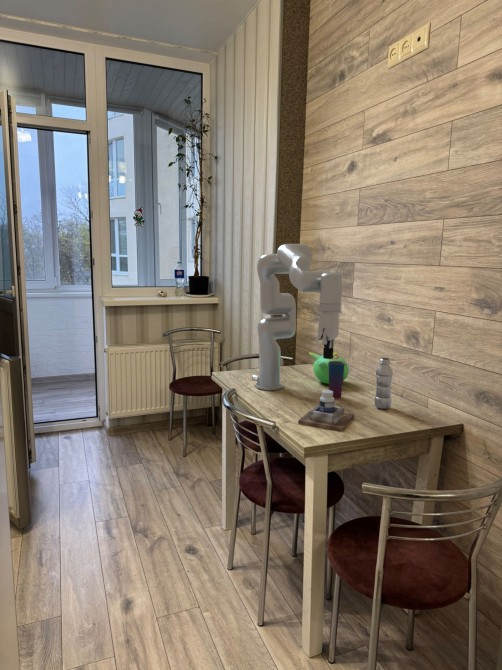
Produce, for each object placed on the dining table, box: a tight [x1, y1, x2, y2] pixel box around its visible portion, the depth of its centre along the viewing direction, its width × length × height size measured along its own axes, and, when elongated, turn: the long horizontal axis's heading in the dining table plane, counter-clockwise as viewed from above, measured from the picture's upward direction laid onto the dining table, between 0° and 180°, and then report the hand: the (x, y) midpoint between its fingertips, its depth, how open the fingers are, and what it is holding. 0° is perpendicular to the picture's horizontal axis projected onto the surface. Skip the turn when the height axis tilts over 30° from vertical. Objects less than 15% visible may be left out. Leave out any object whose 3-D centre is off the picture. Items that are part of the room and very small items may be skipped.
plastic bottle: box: [373, 357, 394, 410], centre depth 186 cm, size 6×7×20 cm
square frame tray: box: [297, 403, 355, 432], centre depth 173 cm, size 16×16×4 cm
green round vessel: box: [308, 352, 350, 385], centre depth 221 cm, size 18×17×15 cm
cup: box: [328, 361, 345, 400], centre depth 200 cm, size 7×7×15 cm
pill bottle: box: [319, 389, 336, 414], centre depth 173 cm, size 5×5×10 cm
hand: (328, 358), depth 171 cm, fingers closed
